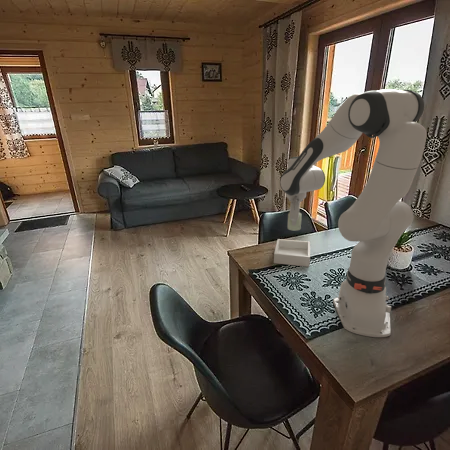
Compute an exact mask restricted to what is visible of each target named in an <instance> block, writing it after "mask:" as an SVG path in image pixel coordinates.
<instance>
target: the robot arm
mask: <svg viewBox="0 0 450 450" xmlns="http://www.w3.org/2000/svg"><path fill="white" fill-rule="evenodd" d="M424 111H425V101H424V98H423V97H422V95H421V94H420V93H418V92H417V91H414V90H411V89H402V90H401V89H393V88H385V89H379V90H378V89H377V90H368V91H364V92H362V93H359V92H358V93H353V94H351V95H349V96H348V97H347V98H346V99H345V100H344V101H343V102H342V104H341V105H340V106H339V108H338V109H337V110H336V111H335V113H334V114H333V115H332V117H331V118H330V120H329V122H328V123H327V125H326V126H325V127H324V128H323V130H322V131H321V132H320V133H319V134H318V135H317V136H316V137H315V138H314V139H312V140H310V142H309V143H308V144H307V145H306V146H305V148H304V149H303V150H301V151H302V152H301V153H300V154H299V155H298V156H293V157H290V159H288V163H287V169H286V170H284V171H283V173H282V174H281V177H280V180H279V185H280V188H281V190H282V191H283V192H284V193H285V198H287V199H288V201H289V202H290V206H289V207H290V208H289V212H290V220H292V225H294V226H295V225H296V220H298V218H299V213H300V209H301V208H300V206H301V202H303V201H304V199H306V198H307V193H309V192H314V191H317V190H320V189H322V188H323V187H324V185H325V182H326V174H325V172H324V170H323V169H322V168H321V167H320V166H319V167H318V166H316V165H315V164H317V163H318V162H320V161H321V160H324V159H327V158H329V157H333V156H336V155H339V154H343V153H344V152H346V151H348V150H349V149H351V147H353V146H354V145H355V144H356V142H357V141H358V140H359V138H360V137H361V136H362V135H363V134H364V135H365V136H366V137H368V138H370V139H375V138H378V140H379V146H378V150H377V152H376V156H375V158H374V160H373V161H374V162H373V166H372V168H371V171H370V175H369V176H368V179H367V182H366V185H365V186H364V188H363V189H362V191H361V193H360V194H359V195H358V197H357V198H356V199H355V201H354V202H353V203H352V205H350V207H349V208H348V209H347V210H346V211H344V212H342V213H341V214H340V216H339V219H338V221H337V222H338V223H337V225H338V226H337V227H338V231H339V233H340V235H341V236H342V237H343V238H344V239H345V240H347V241H348V242H356V244H355V245H354V246H353V248H352V250H351V253H350V254H351V256H350V261H349V267H348V268H347V272H346V278H345V280H344V281H342V282H341V283H340V287H339V293H338V297H335V298H333V299H332V302H333V305H334V308H335V310H336V312H337V314H338V317H339V319H340V321H341V324H342V327H343V328H344V329H345V330H346V331H348V332H350V333H353V334H356V335H360V336H364V337H365V336H366V337H369V338H370V337H371V338H372V337H373V338H386V337H390V336H391V331H392V329H391V312H392V306H391V305H388V303H387V301H389V299H390V297H389V296H388V295H386V293H387V287H386V282H387V280H386V278H387V276H386V270H387V266H388V263H389V259H390V256H391V254H392V252H393V249H394V248H395V246H396V244H397V243H398V241H399V239H400V238H401V236H402V235H403V234H404V232H405V231H406V230H407V229H408V228H410V226H411V225H412V223H413V221H414V217H415V215H414V212H413V209H412V207H411V206H410V205H409V204H408V203H406V202H405V201H400V200H402V199H403V198H404V197H406V195H407V194H408V193H409V191H410V189H411V186H412V184H413V181H414V178H415V177H416V174H417V171H418V169H419V166H420V163H421V161H422V158H423V155H424V151H425V146H426V141H427V129H426V128H425V127H424V126H423V125H422V124H421V123H419V122H418V121H419V120H420V119H421V117H422V116H423V113H424ZM357 242H358V243H357Z"/></svg>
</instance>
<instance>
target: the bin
mask: <svg viewBox="0 0 450 450" xmlns="http://www.w3.org/2000/svg"><path fill="white" fill-rule="evenodd" d="M310 261H311V241H309V240H298V239H297V240H296V239H294V240H293V239H284V238H281V239H280V238H277V241H276V245H275V248H274V252H273V264H278V265H290V266H300V267H307V268H309V267H310V264H311V263H310Z"/></svg>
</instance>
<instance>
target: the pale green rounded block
mask: <svg viewBox="0 0 450 450" xmlns="http://www.w3.org/2000/svg"><path fill="white" fill-rule="evenodd" d="M302 218H303V217H302V213H301V212H299V218H298V220H296V225H295V226H294V225H292V220H290V211H289V212H288V213H287V230H289V231H296V232H297V231H300V230H301V229H302V227H301V225H302Z"/></svg>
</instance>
